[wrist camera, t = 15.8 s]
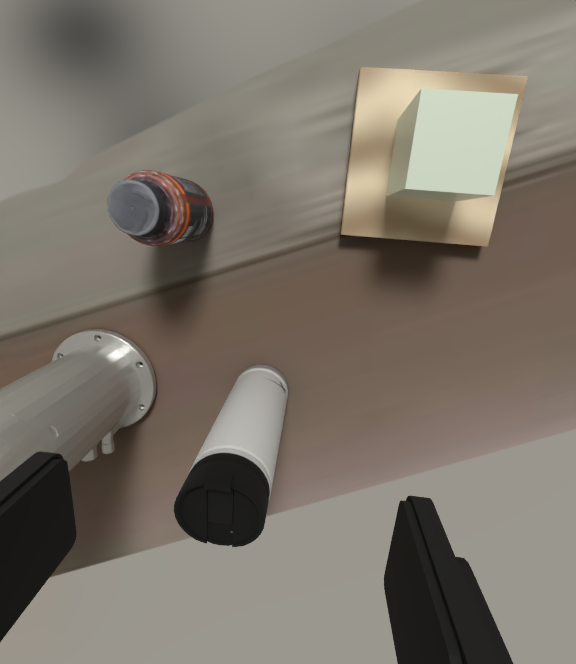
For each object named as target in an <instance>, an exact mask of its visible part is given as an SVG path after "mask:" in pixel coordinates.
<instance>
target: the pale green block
mask: <svg viewBox="0 0 576 664" xmlns="http://www.w3.org/2000/svg"><path fill="white" fill-rule="evenodd" d="M517 97H518V94H508V93H492V92H475V91H459V90H442V89H426V88H421V90H420V91H419V92H418V93H417V95H416V96H415V97H414V99H413V100H412V101H411V103H410V104H409V105H408V107H407V108H406V109H405V110H404V112H403V113H402V114H401V116H400V117H399V118H398V120H397V126H396V133H395V140H394V146H393V153H392V160H391V166H390V173H389V180H388V186H387V193H386V196H389V197H402V198H415V199H428V200H441V201H454V202H456V201H463V200H469V199H476V198H482V197H489V196H494V195H495V191H496V187H497V183H498V178H499V174H500V170H501V166H502V161H503V157H504V153H505V148H506V144H507V140H508V136H509V131H510V127H511V123H512V118H513V114H514V110H515V106H516V101H517Z"/></svg>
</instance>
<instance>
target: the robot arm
mask: <svg viewBox="0 0 576 664" xmlns="http://www.w3.org/2000/svg"><path fill="white" fill-rule="evenodd" d="M141 362H142V363H143V364H142V363H141ZM155 395H156V377H155V373H154V370H153V368H152V365H151V363H150V361H149V360H148V358H147V357H146V355H145V354H144V352H143V351H142V350H141V349H140V348H139V347H138V346H137V345H136V344H134V343H133V342H132V341H130V340H129V339H128V338H126V337H124V336H122V335H120V334H118V333H115V332H112V331H108V330H101V329H92V330H86V331H82V332H79V333H77V334H74V335H72V336H70V337H69V338H67V339H66V340H64V341H63V342H62V343H61V344H60V345H59V347H58V348H57V350H56V351H55V353H54V355H53V359H52V362H51V363H49V364H47V365H45V366H43V367H41V368H39V369H37V370H35V371H34V372H32V373H30V374H28V375H26V376H24V377H22V378H20V379H18V380H16V381H14V382H13V383H11V384H9V385H7V386H5V387H3V388H1V389H0V642H1V640H2V639H3V637H4V636H5V635H6V634H7V632H8V631H9V630H10V628H11V627H12V626H13V625H14V623H15V622H16V620H17V619H18V618H19V617H20V615H21V614H22V613H23V611H24V610H25V609H26V607H27V606H28V605H29V604H30V602H31V601H32V600H33V598H34V597H35V596H36V594H37V593H38V592H39V590H40V589H41V587H42V586H43V585H44V584H45V582H46V581H47V580H48V578H49V577H50V576H51V575H52V573H53V572H54V571H55V569H56V568H57V567H58V565H59V564H60V563H61V561H62V560H63V559H64V557H65V556H66V555H67V553H68V552H69V551H70V549H71V548H72V546H73V544H74V542H75V539H76V526H75V518H74V510H73V502H72V494H71V486H70V478H69V472H70V471H71V470H72V469H73V468H74V467H75V466H76V465H77V464H78V463H79V462H80V461H81V460H82V461H85V462H86V461H91V460H94V459H95V458H97V456H98V449H97V444H98V443H99V442H100V441H101V440H102V442H101V446H102V452H103V453H104V454H109V453H112V452H113V451H114V450H115V446H114V440H113V435H114V434H115V433H116V432H117V431H118V430H119V429H120V428H122V427H127V426H129V425H131V424H134V423H135V422H137V421H138V420H140V419H141V418H142V417H143V416H144V415H145V414H146V413H147V411H148V410H149V409H150V407H151V406H152V404H153V401H154V399H155ZM384 589H385V595H386V600H387V606H388V612H389V617H390V623H391V628H392V634H393V640H394V645H395V651H396V656H397V661H398V664H513V662H512V660H511V657H510V655H509V653H508V651H507V648H506V646H505V644H504V642H503V639H502V637H501V635H500V632H499V630H498V628H497V626H496V623H495V621H494V619H493V617H492V614H491V612H490V610H489V608H488V605H487V603H486V601H485V598H484V596H483V594H482V592H481V589H480V587H479V585H478V583H477V580H476V578H475V576H474V574H473V571H472V569H471V567H470V566H469V563H468V562H467V561H466V560H465V559H464V558H460V557H455V555H454V553H453V550H452V548H451V545H450V543H449V540H448V538H447V536H446V533H445V531H444V528H443V526H442V523H441V521H440V518H439V516H438V514H437V511H436V509H435V506H434V504H433V502H432V500H431V499H430V498H424V497H416V496H408V497H407V499H406V501H400V503H399V507H398V512H397V517H396V521H395V527H394V531H393V536H392V541H391V546H390V550H389V555H388V560H387V565H386V570H385V575H384Z"/></svg>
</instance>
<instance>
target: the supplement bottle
mask: <svg viewBox="0 0 576 664" xmlns="http://www.w3.org/2000/svg"><path fill="white" fill-rule="evenodd" d="M107 205H108V212H109V215H110V217H111V219H112V221H113V223H114V224H115V225H116V226H117V227H118V228H119V229H120V230H121V231H123V232H124V233H127V234H128V235H129V236H130V237H131V238H133V239H134V240H136V241H138V242H140V243H142V244H145V245H150V246H161V245H167V244H173V243H179V242H186V241H191V240H194V239H197V238H199V237H201V236H202V235H203V234H205V233H206V231H207V230H208V229H209V227H210V225H211V222H212V218H213V208H212V203H211V201H210V198H209V196H208V195H207V193H206V192H205V191H204V190H203V189H202V188H201V187H200V186H199V185H197V184H196V183H194V182H192V181H189V180H186V179H182V178H178V177H175V176H171V175H168V174H164V173H161V172H157V171H151V170H142V171H137V172H135V173H132V174H130V175H129V176H127V177H126V178H125V179H124V180H123V181H121V182H119V183H117V184H116V185H115V186H114V187H113V188H112V190H111V192H110V194H109V196H108V203H107Z"/></svg>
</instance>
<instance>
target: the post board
mask: <svg viewBox="0 0 576 664" xmlns="http://www.w3.org/2000/svg"><path fill="white" fill-rule="evenodd" d="M527 79H528V76H513V75H495V74H477V73H459V72H442V71H424V70H406V69H388V68H370V67H361V68H360V71H359V77H358V86H357V94H356V103H355V112H354V120H353V129H352V137H351V146H350V155H349V163H348V172H347V181H346V189H345V198H344V207H343V215H342V224H341V232H340V234H341V235H353V236H365V237H377V238H389V239H401V240H414V241H426V242H438V243H450V244H463V245H475V246H487V247H488V244H489V240H490V235H491V231H492V227H493V223H494V218H495V214H496V210H497V206H498V201H499V197H500V193H501V189H502V184H503V180H504V176H505V172H506V168H507V163H508V159H509V155H510V151H511V146H512V142H513V138H514V134H515V129H516V125H517V121H518V117H519V112H520V108H521V104H522V100H523V95H524V91H525V87H526V83H527ZM421 88H426V89H442V90H459V91H475V92H492V93H508V94H518V97H517V101H516V106H515V110H514V114H513V118H512V123H511V127H510V131H509V136H508V140H507V144H506V148H505V153H504V157H503V161H502V166H501V170H500V174H499V178H498V183H497V187H496V191H495V195H494V196H489V197H482V198H476V199H469V200H463V201H456V202H454V201H441V200H428V199H415V198H402V197H389V196H386V193H387V186H388V180H389V173H390V166H391V160H392V153H393V146H394V140H395V133H396V126H397V120H398V118H399V117H400V116H401V114H402V113H403V112H404V110H405V109H406V108H407V107H408V105H409V104H410V103H411V101H412V100H413V99H414V97H415V96H416V95H417V93H418V92H419V91H420V90H421Z"/></svg>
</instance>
